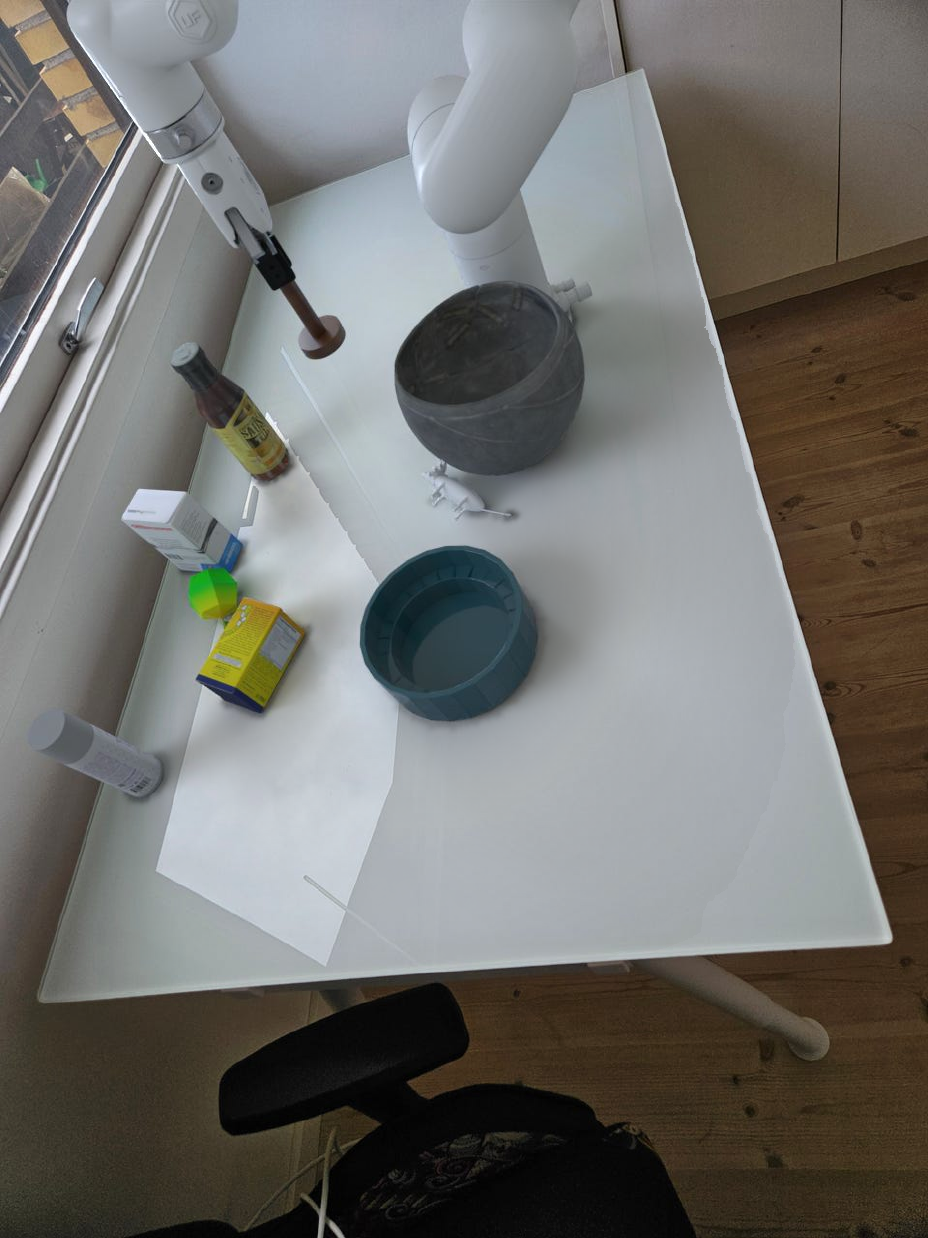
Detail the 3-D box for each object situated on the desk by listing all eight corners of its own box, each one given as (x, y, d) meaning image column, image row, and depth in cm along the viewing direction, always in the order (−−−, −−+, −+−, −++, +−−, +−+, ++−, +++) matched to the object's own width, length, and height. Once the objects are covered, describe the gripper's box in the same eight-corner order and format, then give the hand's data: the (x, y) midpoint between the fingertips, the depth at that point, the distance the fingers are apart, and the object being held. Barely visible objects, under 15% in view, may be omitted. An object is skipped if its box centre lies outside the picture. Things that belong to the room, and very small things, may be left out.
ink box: (245, 544, 105) (189, 488, 95) (229, 577, 103) (170, 523, 93) (195, 539, 109) (136, 485, 99) (179, 571, 107) (117, 519, 97)
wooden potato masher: (340, 317, 104) (275, 210, 91) (350, 344, 101) (283, 236, 88) (300, 339, 105) (229, 236, 92) (308, 367, 101) (236, 264, 89)
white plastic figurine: (407, 473, 92) (434, 446, 94) (413, 501, 97) (439, 475, 99) (490, 525, 88) (516, 496, 90) (492, 551, 93) (517, 523, 95)
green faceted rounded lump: (191, 587, 102) (211, 652, 100) (169, 571, 96) (190, 639, 93) (243, 566, 102) (265, 630, 100) (225, 549, 96) (248, 616, 94)
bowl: (544, 349, 104) (515, 246, 91) (635, 442, 91) (615, 338, 79) (404, 434, 104) (356, 343, 91) (476, 539, 91) (432, 450, 79)
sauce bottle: (285, 481, 108) (194, 374, 92) (246, 485, 110) (151, 380, 94) (298, 443, 111) (213, 332, 95) (260, 447, 113) (170, 339, 97)
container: (167, 755, 92) (71, 703, 80) (159, 795, 90) (58, 748, 78) (133, 759, 94) (33, 709, 82) (124, 799, 91) (20, 754, 79)
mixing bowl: (508, 553, 90) (490, 519, 84) (563, 680, 80) (546, 650, 75) (370, 618, 92) (344, 589, 87) (408, 750, 82) (381, 726, 77)
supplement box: (223, 701, 93) (270, 620, 97) (261, 715, 90) (308, 631, 94) (192, 679, 88) (242, 595, 92) (231, 693, 86) (282, 606, 89)
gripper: (225, 140, 75) (323, 299, 90) (207, 74, 84) (299, 227, 99) (156, 181, 76) (265, 331, 91) (146, 111, 85) (246, 258, 100)
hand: (282, 276), depth 95 cm, fingers closed on wooden potato masher
